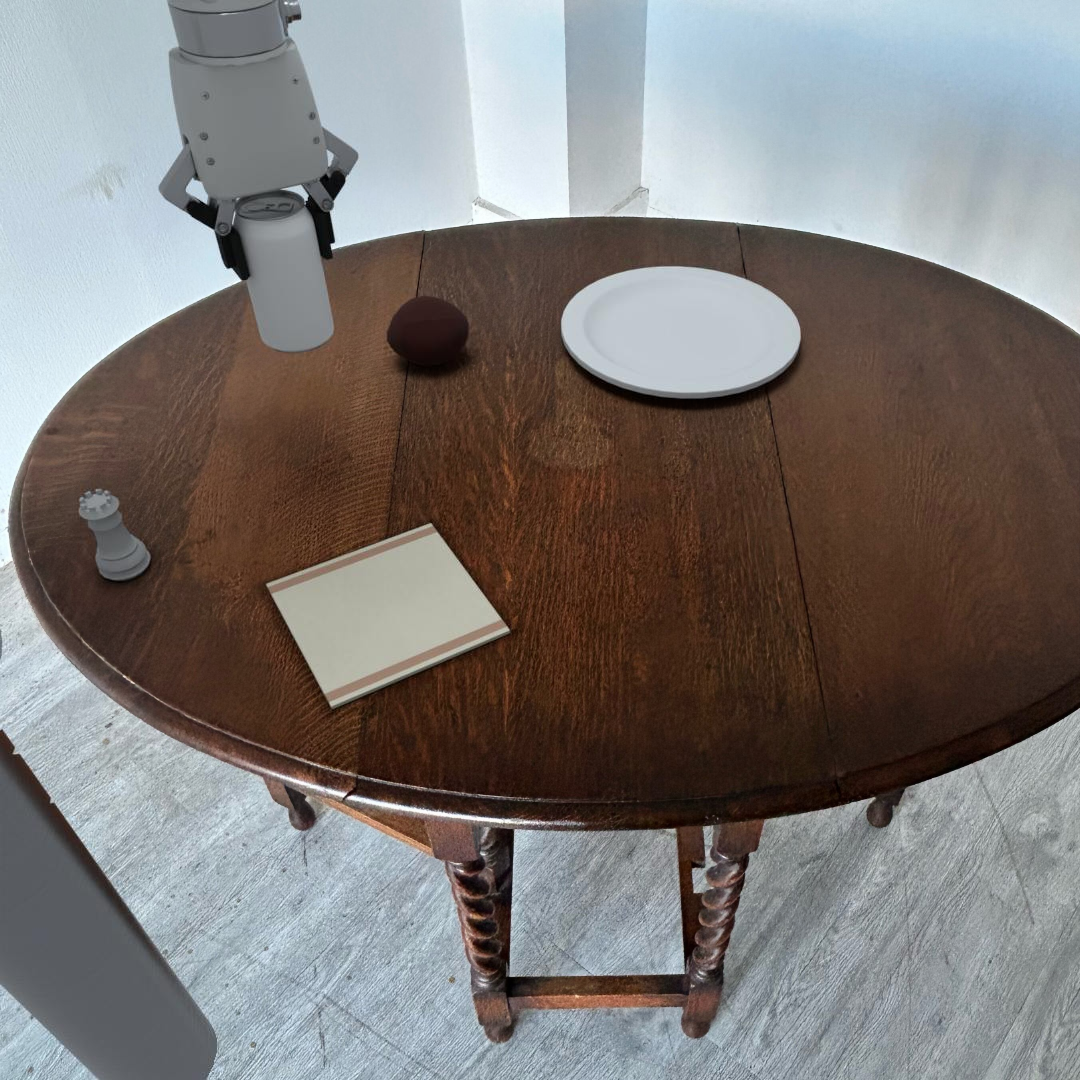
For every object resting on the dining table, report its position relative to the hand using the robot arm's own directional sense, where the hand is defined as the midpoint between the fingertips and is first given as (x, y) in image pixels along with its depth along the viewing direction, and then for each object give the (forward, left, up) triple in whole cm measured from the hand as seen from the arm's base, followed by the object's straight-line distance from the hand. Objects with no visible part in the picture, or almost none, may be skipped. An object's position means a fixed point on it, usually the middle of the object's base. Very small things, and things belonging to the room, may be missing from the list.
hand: (281, 261), depth 83 cm
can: (0, 0, -7) cm, 7 cm away
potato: (+17, +13, -22) cm, 31 cm away
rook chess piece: (-21, -4, -22) cm, 31 cm away
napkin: (-3, -21, -22) cm, 31 cm away
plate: (+44, +2, -22) cm, 50 cm away
